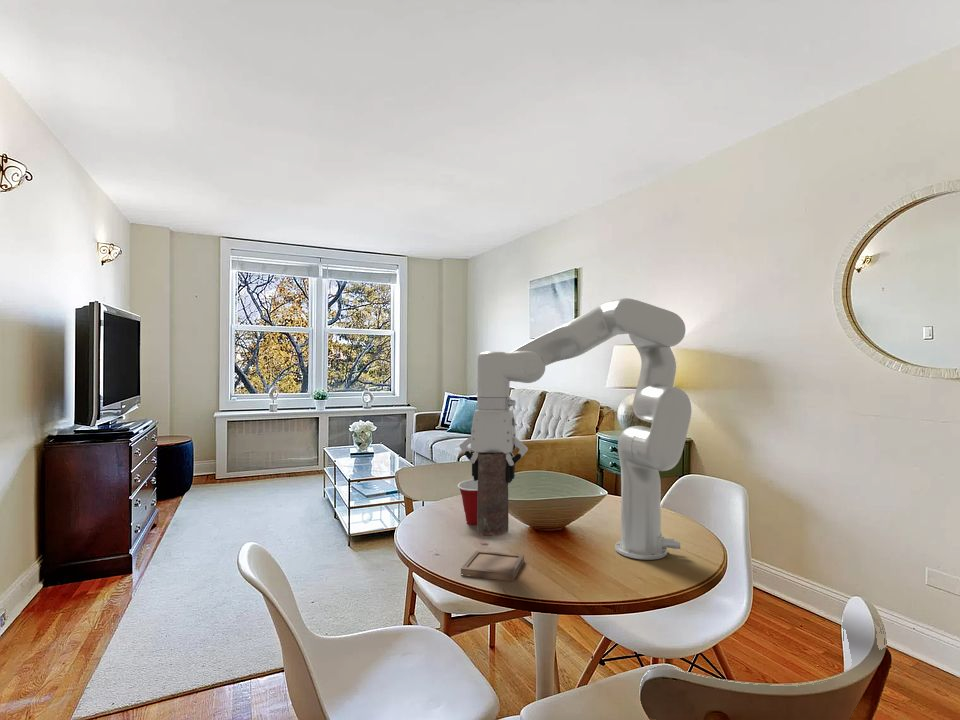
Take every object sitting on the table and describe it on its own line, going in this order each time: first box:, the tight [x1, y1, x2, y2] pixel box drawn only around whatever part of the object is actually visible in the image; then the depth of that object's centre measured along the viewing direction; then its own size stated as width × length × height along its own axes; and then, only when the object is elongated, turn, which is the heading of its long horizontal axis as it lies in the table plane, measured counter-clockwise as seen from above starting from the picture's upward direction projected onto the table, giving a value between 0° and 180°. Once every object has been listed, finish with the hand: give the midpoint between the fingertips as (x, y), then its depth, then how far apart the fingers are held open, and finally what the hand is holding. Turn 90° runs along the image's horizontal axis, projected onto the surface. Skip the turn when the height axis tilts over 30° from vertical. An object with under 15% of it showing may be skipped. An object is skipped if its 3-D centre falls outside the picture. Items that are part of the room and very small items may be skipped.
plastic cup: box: [457, 478, 478, 527], centre depth 159 cm, size 11×11×12 cm
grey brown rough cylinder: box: [476, 452, 509, 537], centre depth 124 cm, size 8×7×20 cm
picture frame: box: [460, 549, 525, 582], centre depth 124 cm, size 12×12×2 cm
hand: (493, 480), depth 124 cm, fingers closed on grey brown rough cylinder, 7 cm apart
